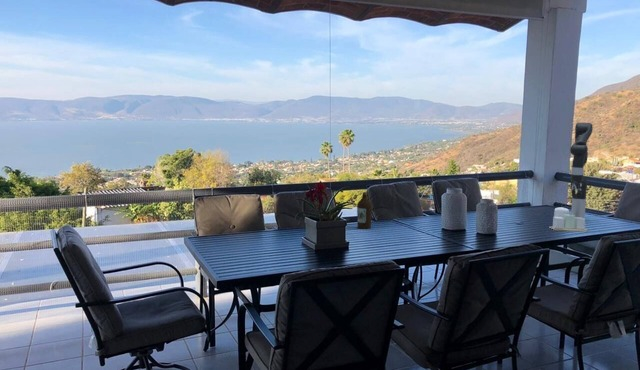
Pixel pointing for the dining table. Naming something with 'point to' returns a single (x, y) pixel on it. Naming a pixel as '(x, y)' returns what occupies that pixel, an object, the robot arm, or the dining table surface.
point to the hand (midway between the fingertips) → (575, 197)
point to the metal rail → (563, 228)
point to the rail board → (570, 229)
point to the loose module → (569, 221)
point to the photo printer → (561, 212)
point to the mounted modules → (579, 223)
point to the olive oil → (364, 212)
